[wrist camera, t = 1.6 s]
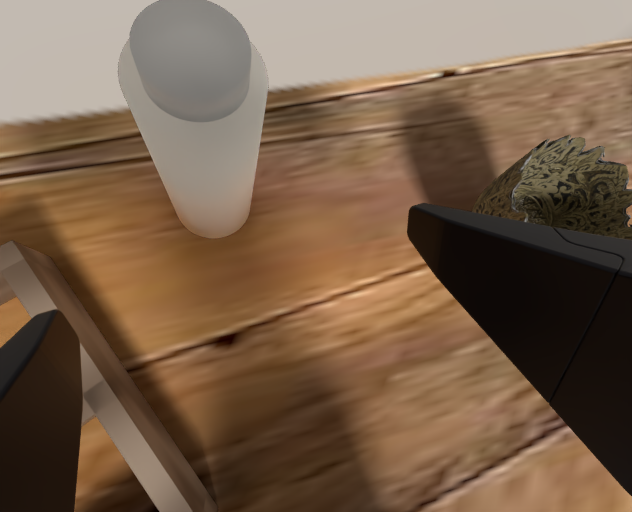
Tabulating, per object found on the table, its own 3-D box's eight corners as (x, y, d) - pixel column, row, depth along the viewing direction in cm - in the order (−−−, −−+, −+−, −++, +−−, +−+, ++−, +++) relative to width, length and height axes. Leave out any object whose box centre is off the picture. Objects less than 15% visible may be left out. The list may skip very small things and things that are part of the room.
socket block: (218, 507, 19) (214, 547, 15) (18, 679, 16) (-44, 779, 12) (49, 256, 19) (9, 239, 16) (-171, 375, 16) (-283, 386, 13)
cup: (435, 183, 26) (521, 119, 18) (524, 201, 27) (638, 148, 20) (434, 287, 24) (528, 264, 16) (529, 300, 25) (656, 284, 18)
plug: (264, 214, 22) (301, 77, 11) (202, 252, 21) (164, 144, 9) (224, 157, 23) (216, -40, 11) (159, 191, 21) (69, 9, 9)
